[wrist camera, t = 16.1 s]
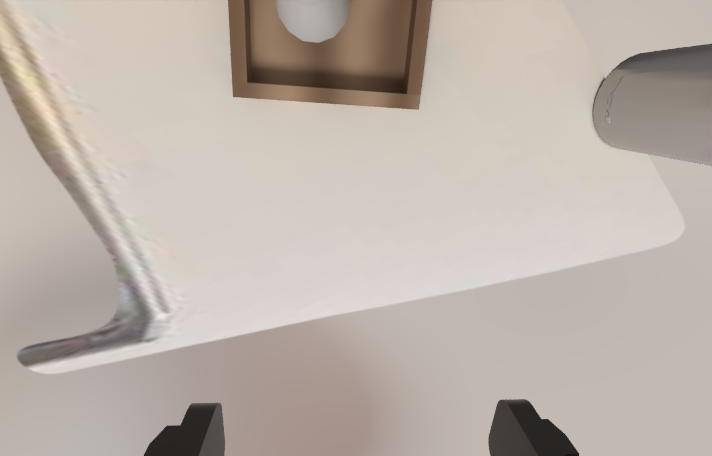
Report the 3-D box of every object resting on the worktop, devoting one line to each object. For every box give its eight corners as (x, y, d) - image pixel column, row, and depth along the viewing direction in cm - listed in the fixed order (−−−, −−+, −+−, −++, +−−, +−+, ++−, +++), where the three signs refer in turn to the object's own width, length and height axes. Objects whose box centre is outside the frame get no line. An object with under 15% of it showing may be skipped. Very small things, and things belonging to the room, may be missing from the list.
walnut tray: (434, -100, 29) (446, -121, 26) (411, 108, 34) (418, 109, 31) (231, -127, 27) (220, -153, 24) (240, 96, 33) (233, 96, 30)
